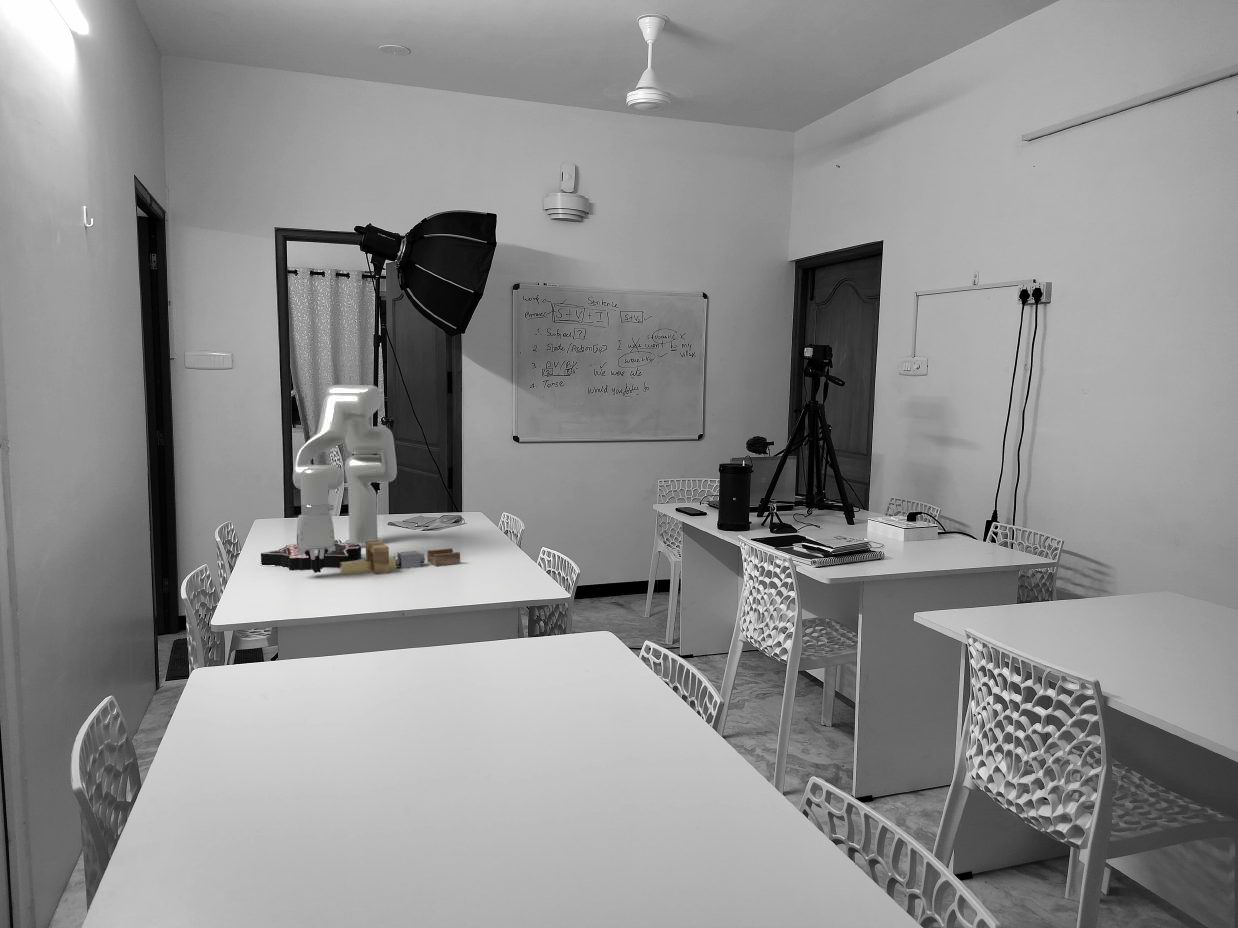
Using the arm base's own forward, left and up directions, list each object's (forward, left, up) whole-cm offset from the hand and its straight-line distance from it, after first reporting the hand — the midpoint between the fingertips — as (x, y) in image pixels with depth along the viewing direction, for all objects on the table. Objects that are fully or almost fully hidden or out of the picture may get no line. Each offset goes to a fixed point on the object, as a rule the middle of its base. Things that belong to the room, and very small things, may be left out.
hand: (316, 571), depth 240 cm
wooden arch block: (0, +18, -2) cm, 18 cm away
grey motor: (0, +28, -2) cm, 28 cm away
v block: (0, +39, -2) cm, 39 cm away
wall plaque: (-22, +3, -2) cm, 22 cm away
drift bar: (0, +15, -2) cm, 15 cm away
